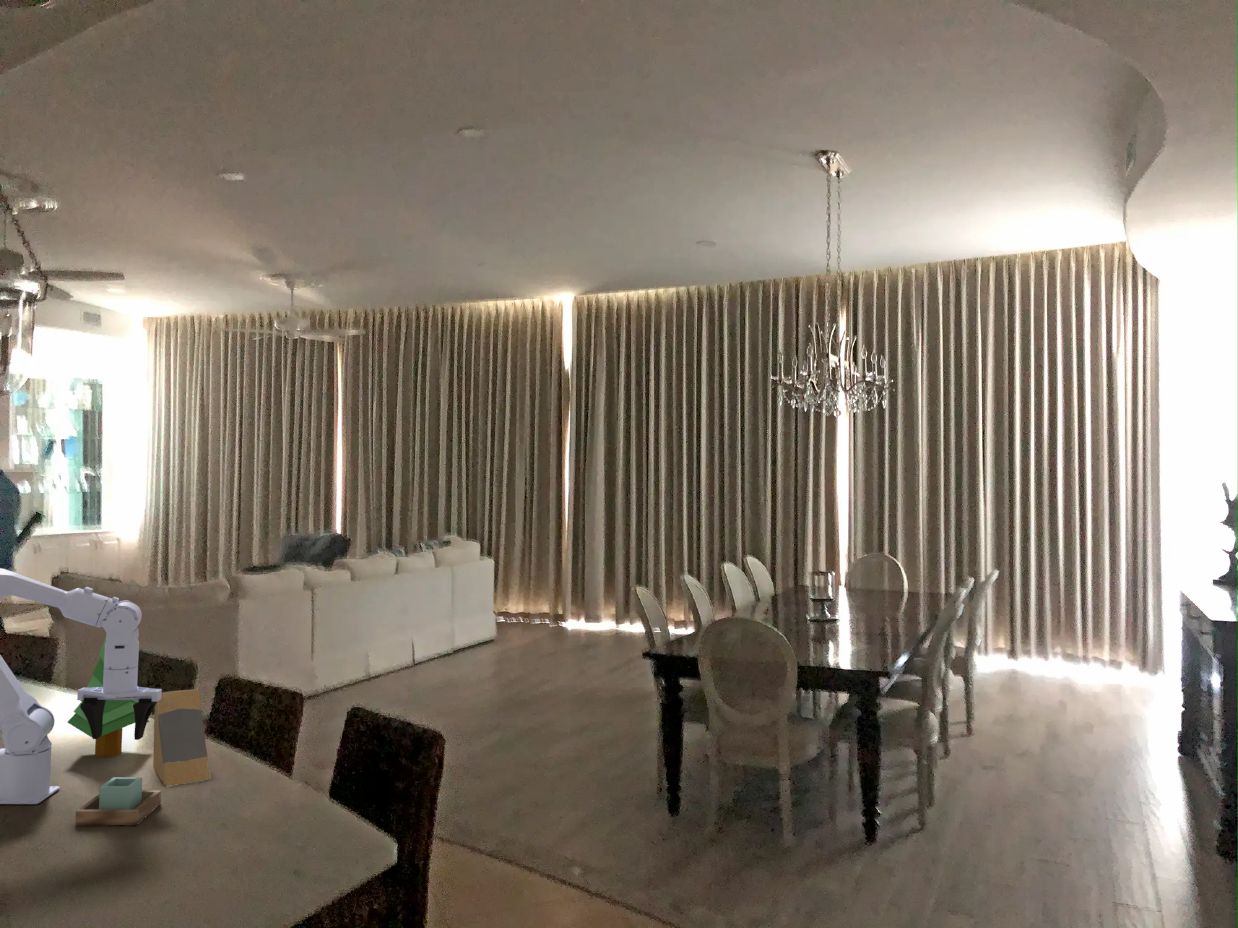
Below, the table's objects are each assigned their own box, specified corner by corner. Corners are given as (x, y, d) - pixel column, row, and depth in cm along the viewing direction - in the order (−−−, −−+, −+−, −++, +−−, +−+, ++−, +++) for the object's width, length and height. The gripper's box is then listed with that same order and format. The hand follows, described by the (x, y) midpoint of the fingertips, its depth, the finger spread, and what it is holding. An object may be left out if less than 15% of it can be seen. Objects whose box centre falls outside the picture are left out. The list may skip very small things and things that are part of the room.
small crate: (98, 815, 157) (99, 787, 157) (112, 804, 162) (113, 777, 162) (128, 815, 157) (129, 787, 157) (141, 805, 162) (142, 777, 162)
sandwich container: (164, 788, 173) (167, 710, 173) (151, 765, 185) (154, 692, 185) (212, 780, 178) (215, 704, 178) (196, 758, 190) (199, 687, 190)
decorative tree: (107, 768, 181) (113, 620, 182) (51, 757, 187) (57, 613, 187) (162, 750, 194) (168, 611, 194) (109, 739, 200) (114, 605, 200)
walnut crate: (75, 825, 154) (76, 810, 154) (103, 803, 164) (104, 789, 164) (136, 825, 155) (136, 811, 155) (160, 803, 165) (161, 790, 165)
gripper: (70, 670, 166) (66, 743, 166) (151, 672, 167) (148, 744, 167) (89, 661, 173) (86, 732, 173) (167, 663, 174) (164, 733, 174)
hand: (118, 737), depth 171 cm, fingers open, 7 cm apart
